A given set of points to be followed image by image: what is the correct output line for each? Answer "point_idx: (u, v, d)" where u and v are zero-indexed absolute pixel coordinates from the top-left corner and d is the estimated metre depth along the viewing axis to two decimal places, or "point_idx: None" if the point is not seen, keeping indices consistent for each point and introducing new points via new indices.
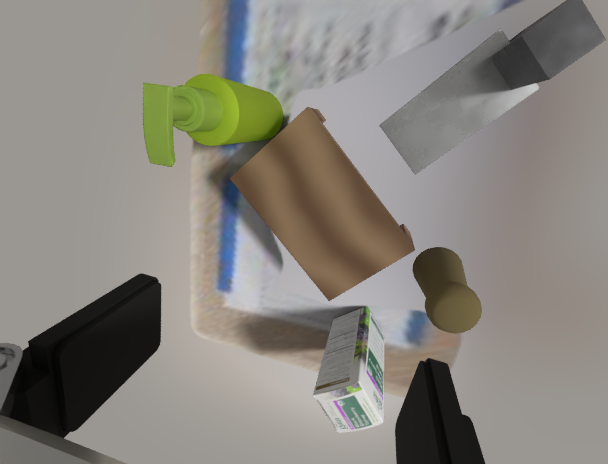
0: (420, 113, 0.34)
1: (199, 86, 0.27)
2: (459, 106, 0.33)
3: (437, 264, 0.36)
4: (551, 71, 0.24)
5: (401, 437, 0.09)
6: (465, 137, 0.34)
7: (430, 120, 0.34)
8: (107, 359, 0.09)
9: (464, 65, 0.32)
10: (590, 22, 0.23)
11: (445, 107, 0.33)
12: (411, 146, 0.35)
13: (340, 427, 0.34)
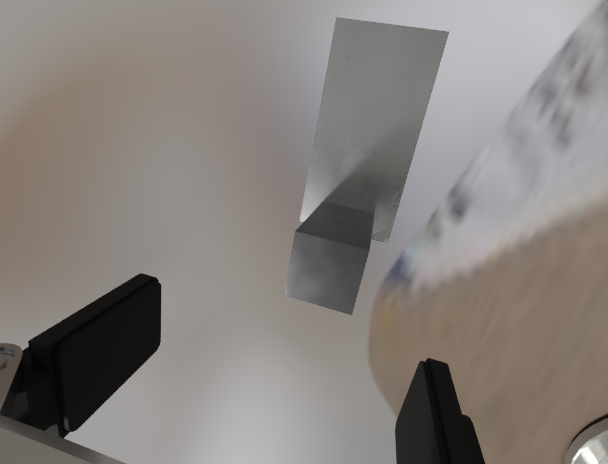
0: (400, 99, 0.21)
1: None
2: (360, 146, 0.22)
3: None
4: (301, 239, 0.17)
5: (401, 437, 0.09)
6: (320, 121, 0.22)
7: (379, 102, 0.21)
8: (107, 359, 0.09)
9: (393, 188, 0.22)
10: (313, 299, 0.18)
11: (374, 131, 0.22)
12: (374, 48, 0.20)
13: None
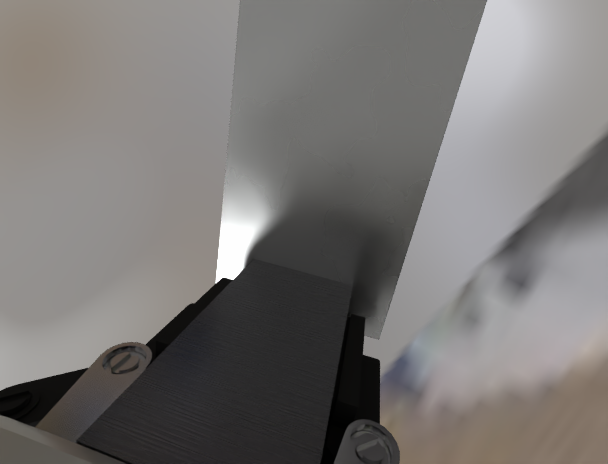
0: (405, 47, 0.09)
1: None
2: (319, 153, 0.11)
3: None
4: None
5: None
6: (236, 101, 0.11)
7: (358, 56, 0.09)
8: None
9: (390, 239, 0.11)
10: None
11: (349, 122, 0.10)
12: None
13: None
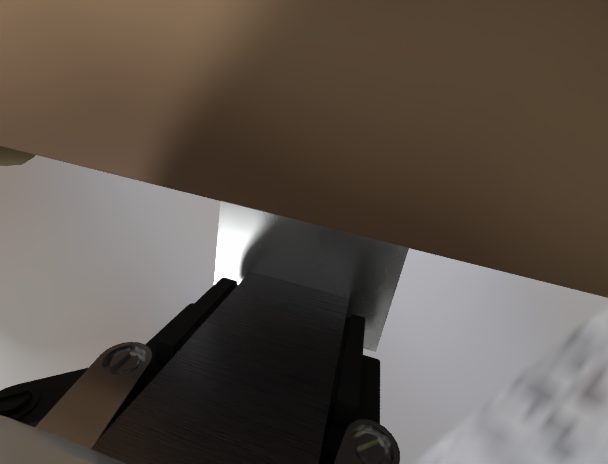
0: None
1: None
2: None
3: None
4: None
5: None
6: None
7: None
8: None
9: (386, 253, 0.11)
10: None
11: None
12: None
13: None
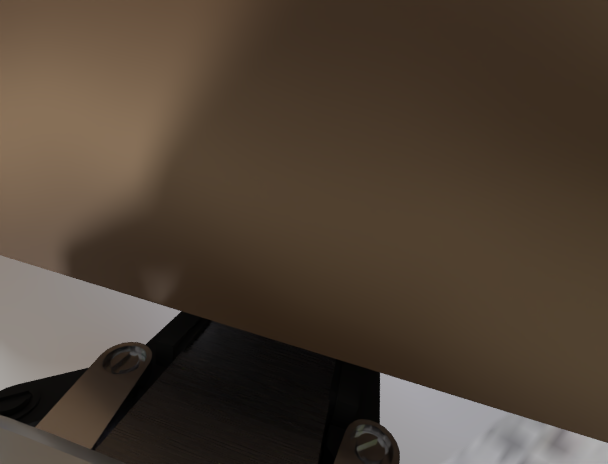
0: None
1: None
2: None
3: None
4: None
5: None
6: None
7: None
8: None
9: None
10: None
11: None
12: None
13: None
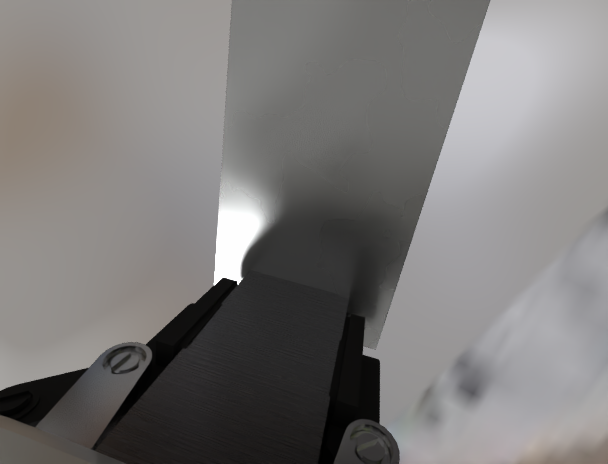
0: (401, 61, 0.09)
1: None
2: (315, 167, 0.10)
3: None
4: None
5: None
6: (230, 114, 0.10)
7: (353, 70, 0.09)
8: None
9: (387, 253, 0.11)
10: None
11: (344, 136, 0.10)
12: None
13: None
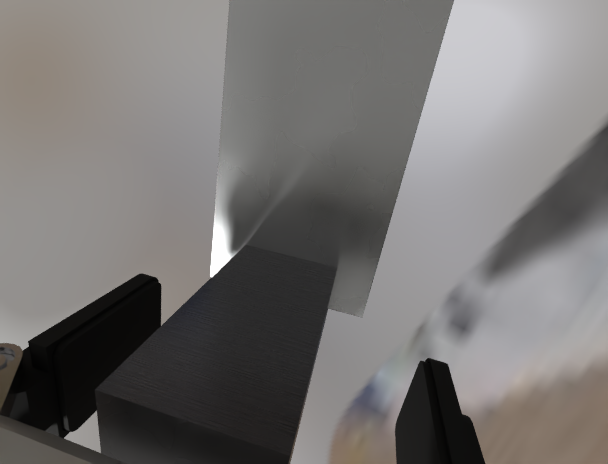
0: (380, 48, 0.10)
1: None
2: (305, 145, 0.11)
3: None
4: (114, 409, 0.06)
5: (401, 437, 0.09)
6: (227, 97, 0.11)
7: (338, 56, 0.10)
8: (107, 359, 0.09)
9: (371, 224, 0.12)
10: None
11: (331, 116, 0.11)
12: None
13: None
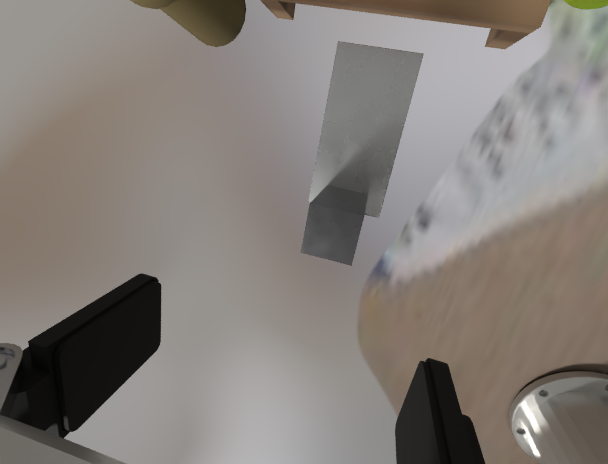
0: (387, 104, 0.27)
1: None
2: (356, 140, 0.28)
3: (216, 7, 0.25)
4: (314, 209, 0.23)
5: (401, 437, 0.09)
6: (325, 121, 0.28)
7: (371, 106, 0.27)
8: (107, 359, 0.09)
9: (383, 173, 0.29)
10: (322, 255, 0.24)
11: (368, 129, 0.28)
12: (367, 65, 0.26)
13: None
